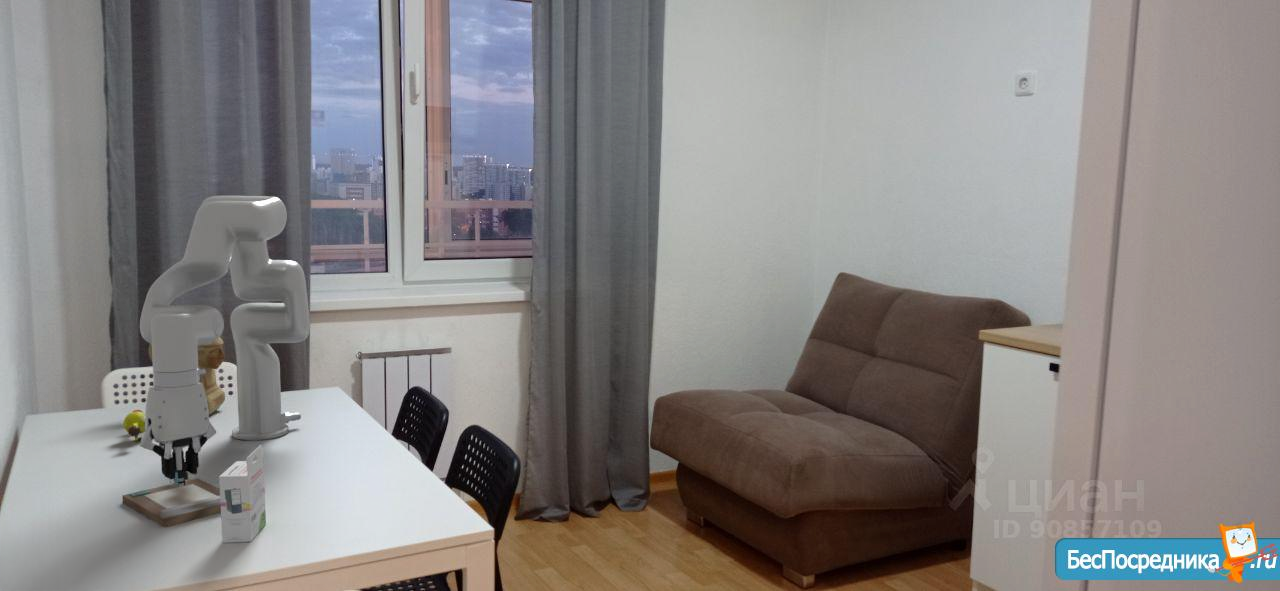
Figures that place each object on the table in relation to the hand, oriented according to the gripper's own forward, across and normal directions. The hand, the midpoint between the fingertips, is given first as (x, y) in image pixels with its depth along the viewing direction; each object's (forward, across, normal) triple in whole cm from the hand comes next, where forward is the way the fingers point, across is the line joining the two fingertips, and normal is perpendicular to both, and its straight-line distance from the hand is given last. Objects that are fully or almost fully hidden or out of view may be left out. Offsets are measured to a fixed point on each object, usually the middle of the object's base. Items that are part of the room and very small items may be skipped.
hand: (180, 474), depth 173 cm
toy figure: (+6, -12, -51) cm, 53 cm away
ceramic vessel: (+6, -31, -67) cm, 74 cm away
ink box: (+6, -1, +22) cm, 23 cm away
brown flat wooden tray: (+6, 0, 0) cm, 6 cm away
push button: (+2, 0, 0) cm, 2 cm away
